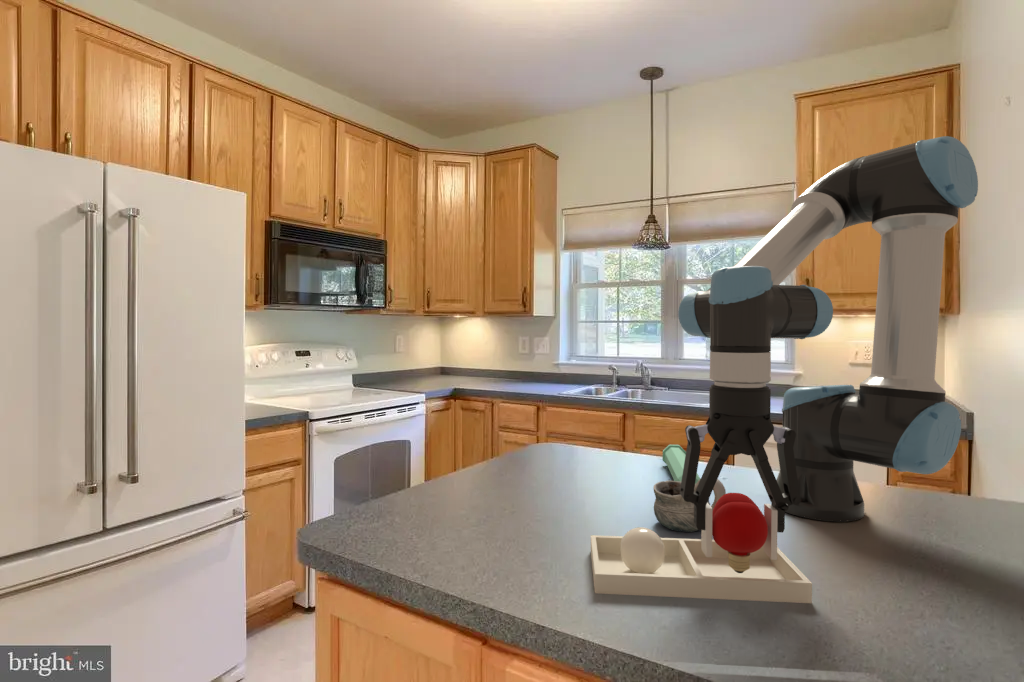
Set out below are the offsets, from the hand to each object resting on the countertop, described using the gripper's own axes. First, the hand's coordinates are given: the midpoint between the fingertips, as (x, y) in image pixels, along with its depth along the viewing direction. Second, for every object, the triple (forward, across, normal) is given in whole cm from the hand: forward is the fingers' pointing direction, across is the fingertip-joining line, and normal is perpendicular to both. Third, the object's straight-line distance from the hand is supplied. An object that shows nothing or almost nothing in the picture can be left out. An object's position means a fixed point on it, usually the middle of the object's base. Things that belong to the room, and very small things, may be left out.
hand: (738, 554), depth 74 cm
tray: (+4, +6, 0) cm, 7 cm away
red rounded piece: (+3, 0, 0) cm, 3 cm away
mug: (+4, +2, -18) cm, 19 cm away
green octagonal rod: (+4, -2, -50) cm, 50 cm away
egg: (+3, +13, 0) cm, 13 cm away
